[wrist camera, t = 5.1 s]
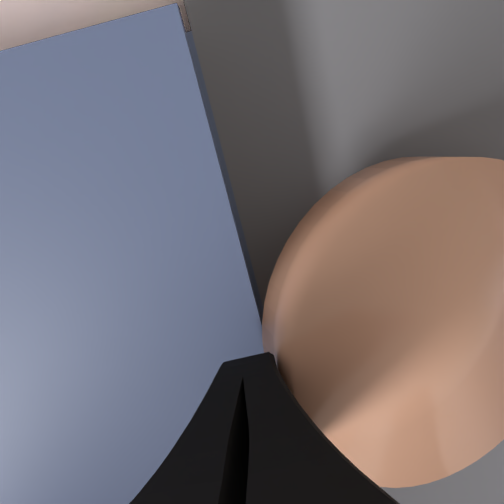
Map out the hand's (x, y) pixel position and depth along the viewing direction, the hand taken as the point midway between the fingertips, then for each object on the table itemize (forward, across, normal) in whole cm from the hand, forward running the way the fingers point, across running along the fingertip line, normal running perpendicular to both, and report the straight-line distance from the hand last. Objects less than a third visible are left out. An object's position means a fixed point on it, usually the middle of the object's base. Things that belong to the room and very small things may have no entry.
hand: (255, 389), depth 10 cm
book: (+4, +6, 0) cm, 7 cm away
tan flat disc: (+2, -5, 0) cm, 5 cm away
